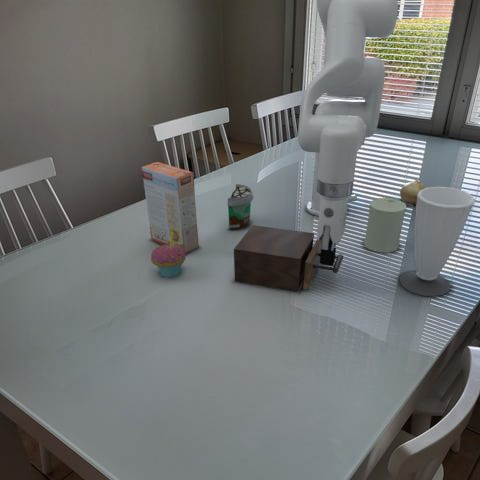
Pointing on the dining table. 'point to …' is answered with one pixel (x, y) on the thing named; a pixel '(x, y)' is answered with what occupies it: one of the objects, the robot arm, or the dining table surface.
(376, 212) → the can
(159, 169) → the cracker box
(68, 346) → the dining table surface
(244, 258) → the cabinet
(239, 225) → the food container
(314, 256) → the drawer
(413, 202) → the onion
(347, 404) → the dining table surface
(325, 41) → the robot arm
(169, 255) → the cupcake
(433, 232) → the cup
